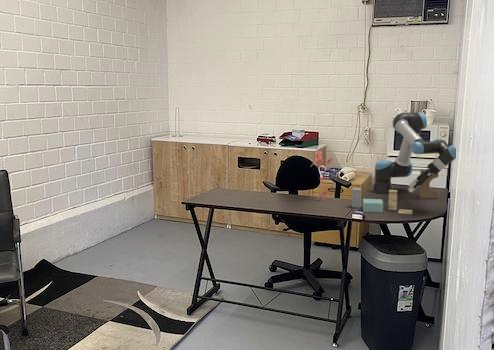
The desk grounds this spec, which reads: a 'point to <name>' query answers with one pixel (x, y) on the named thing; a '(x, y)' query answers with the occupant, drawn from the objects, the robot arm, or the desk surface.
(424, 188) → the decorative block
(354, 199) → the slate-grey pillar
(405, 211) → the maple swatch tile
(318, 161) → the figurine
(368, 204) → the teal base block
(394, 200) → the maple pillar
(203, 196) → the desk surface
